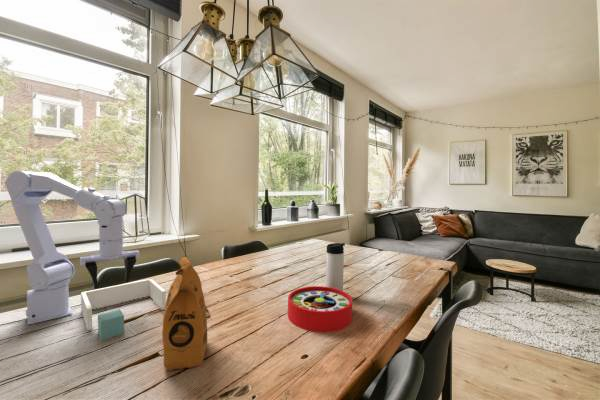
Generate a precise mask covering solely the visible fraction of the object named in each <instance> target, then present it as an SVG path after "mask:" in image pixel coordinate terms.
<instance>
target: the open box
mask: <svg viewBox="0 0 600 400" xmlns="http://www.w3.org/2000/svg"><path fill="white" fill-rule="evenodd" d="M166 294H167V293H166V290H165V288H163V287H161V285H159V284H158V283H157V282H156V281H155V280H154V279H152V278H148V279H142V280H138V281H137V280H136V281H131V282H125V283H122V284H118V285H112V286H106V287H102V288H95V289H91V290H86V291H81V293H80V295H81V296H80V298H81V299H80V301H81V303H80V304H81V313H82V317H83V320H84V321H83V322H84V324H85V327H86V331H88V332H89V331H92V330H93V310H96V308H97V309H101V308H105V306H106V307H109V305H110V306H113V305H118V304H122V303H121V302H123V303H126V302H125V301H127V302H130V301H129V300H131V301H134V300H133V299H135V300H138V299H137V298H139V299H143V298H142V297H144V298H146V297H147V296H148V297H149V296H150V297H151V298H152V299H153V300H152V299H151V298H150V299H151V300H152V301H153V302H154V303H155V304H156V306H158V307H159V308H160V309H161V310H162V311H163V310H165V305H166V300H167V296H166ZM148 297H147V298H148ZM100 307H101V308H100ZM92 309H93V310H92Z"/></svg>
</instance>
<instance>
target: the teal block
mask: <svg viewBox="0 0 600 400" xmlns="http://www.w3.org/2000/svg"><path fill="white" fill-rule="evenodd" d="M97 333H98V335H99V338H100V340H101V341H104V340H107V339H110V338H109V337H111V338H114V337H116V335H117V336H120V335H123V334H125V315H124V313H123V312H122V311H121V309H116V310H115V309H114V310H112V311H107V312H104V313H99V314H97ZM122 333H123V334H122ZM119 334H120V335H119ZM113 336H114V337H113ZM106 338H107V339H106ZM103 339H104V340H103Z"/></svg>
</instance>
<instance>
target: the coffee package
mask: <svg viewBox="0 0 600 400" xmlns="http://www.w3.org/2000/svg"><path fill="white" fill-rule="evenodd" d="M179 265H180V268H179V269H178V270H177V271H175V276H176V277H174V279H173V281H172V283H171V284H170V286H169V289H168V293H167V296H166V305H165V309H164V311H163V318H162V330H161V331H162V332H161V333H162V334H161V335H162V338H161V339H162V347H163V366H164V368H165V369H166V371H172V370H182V369H185V368H188V369H189V368H190V369H192V368H194V367H198V366H201V365H202V364H203V361H204V357H205V351H206V349H207V347H208V321H207V318H206V308H205V305H206V301H205V296H204V293H203V287H202V282H201V278H200V276H199V273H198V272H197V271H196V269H195V268H194V267H193V265H192V264H191V261H190V260H189V259H188V258H187V257H186V256H185V257H183V258H181V259H180V261H179Z"/></svg>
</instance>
